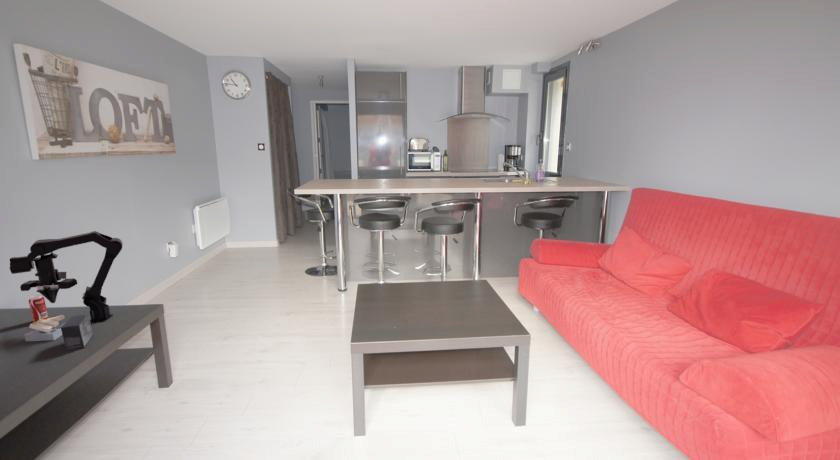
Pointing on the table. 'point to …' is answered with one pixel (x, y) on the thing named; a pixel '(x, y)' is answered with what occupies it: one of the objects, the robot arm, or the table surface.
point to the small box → (77, 332)
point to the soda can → (38, 308)
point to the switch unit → (44, 334)
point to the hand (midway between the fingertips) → (53, 302)
